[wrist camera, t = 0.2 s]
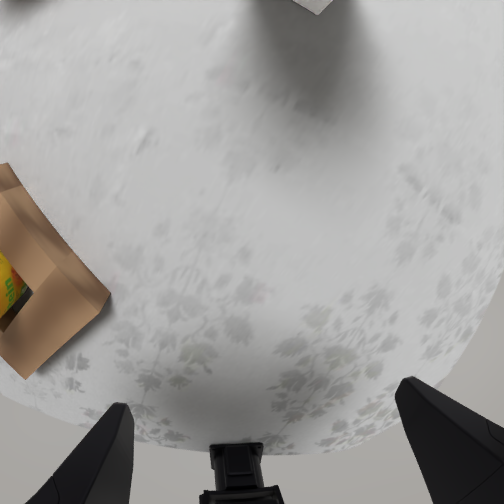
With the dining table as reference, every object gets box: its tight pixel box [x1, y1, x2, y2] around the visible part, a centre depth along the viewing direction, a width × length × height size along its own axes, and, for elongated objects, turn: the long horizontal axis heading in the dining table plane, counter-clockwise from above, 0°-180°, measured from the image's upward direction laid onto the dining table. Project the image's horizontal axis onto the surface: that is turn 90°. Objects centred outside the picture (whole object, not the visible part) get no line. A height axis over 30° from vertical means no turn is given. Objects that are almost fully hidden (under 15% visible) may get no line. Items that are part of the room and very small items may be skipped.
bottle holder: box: [0, 163, 110, 380], centre depth 18 cm, size 14×14×3 cm
